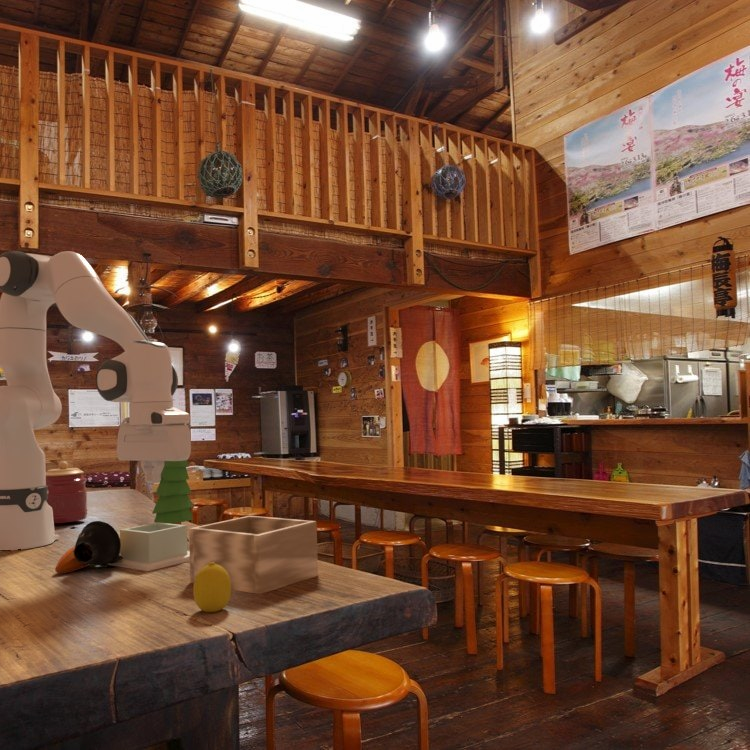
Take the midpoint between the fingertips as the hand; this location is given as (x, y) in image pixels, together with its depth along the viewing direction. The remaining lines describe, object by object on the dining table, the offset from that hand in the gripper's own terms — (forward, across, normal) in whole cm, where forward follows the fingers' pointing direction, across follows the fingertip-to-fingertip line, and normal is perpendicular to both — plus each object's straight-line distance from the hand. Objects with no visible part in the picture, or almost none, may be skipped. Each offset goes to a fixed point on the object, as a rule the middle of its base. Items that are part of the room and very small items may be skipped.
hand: (153, 482), depth 140 cm
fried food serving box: (+16, +31, -2) cm, 35 cm away
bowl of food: (+12, 0, -16) cm, 21 cm away
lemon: (+17, +40, -20) cm, 48 cm away
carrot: (+15, -5, -18) cm, 24 cm away
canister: (+16, -74, +24) cm, 80 cm away
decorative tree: (+17, -14, +16) cm, 27 cm away
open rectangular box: (+16, 0, 0) cm, 16 cm away
